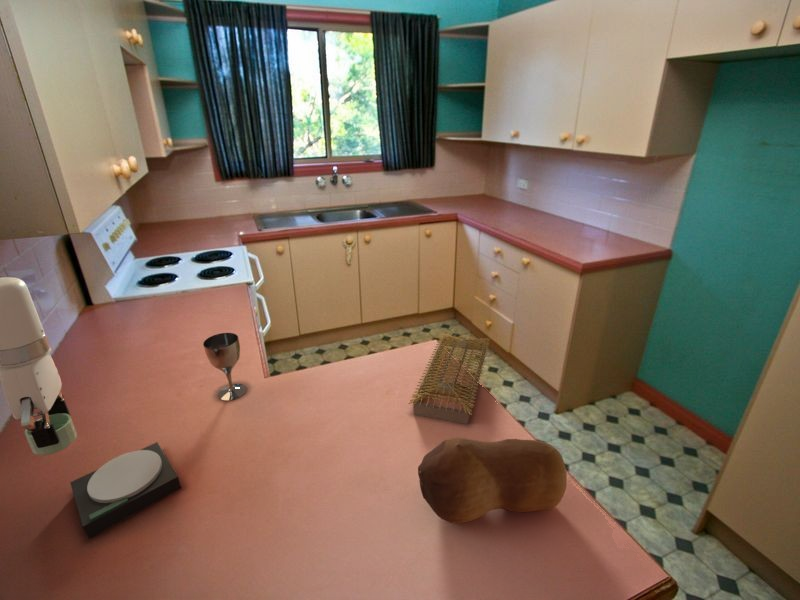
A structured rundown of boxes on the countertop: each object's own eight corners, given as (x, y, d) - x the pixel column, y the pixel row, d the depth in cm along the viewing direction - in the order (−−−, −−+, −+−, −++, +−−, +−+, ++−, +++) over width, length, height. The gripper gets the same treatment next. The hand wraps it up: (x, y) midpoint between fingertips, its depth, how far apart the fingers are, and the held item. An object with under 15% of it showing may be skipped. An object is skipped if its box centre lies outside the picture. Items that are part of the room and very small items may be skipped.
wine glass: (210, 392, 109) (197, 340, 103) (240, 379, 114) (229, 329, 108) (223, 405, 103) (211, 352, 97) (254, 391, 108) (244, 340, 102)
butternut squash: (424, 543, 66) (581, 530, 68) (421, 459, 65) (580, 448, 67) (416, 496, 80) (545, 487, 81) (413, 426, 79) (544, 418, 80)
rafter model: (471, 427, 94) (472, 404, 91) (408, 415, 98) (408, 393, 96) (489, 349, 124) (491, 330, 122) (441, 342, 128) (441, 324, 126)
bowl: (27, 461, 77) (18, 441, 75) (39, 437, 82) (31, 418, 81) (73, 450, 79) (65, 431, 77) (81, 428, 85) (74, 409, 83)
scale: (88, 539, 71) (81, 523, 70) (75, 493, 80) (68, 478, 79) (181, 488, 81) (177, 473, 79) (161, 452, 89) (156, 438, 88)
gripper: (12, 331, 79) (45, 410, 86) (-31, 380, 64) (13, 470, 71) (61, 324, 81) (89, 400, 89) (30, 369, 67) (66, 457, 74)
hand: (55, 431), depth 80 cm, fingers closed on bowl, 6 cm apart
